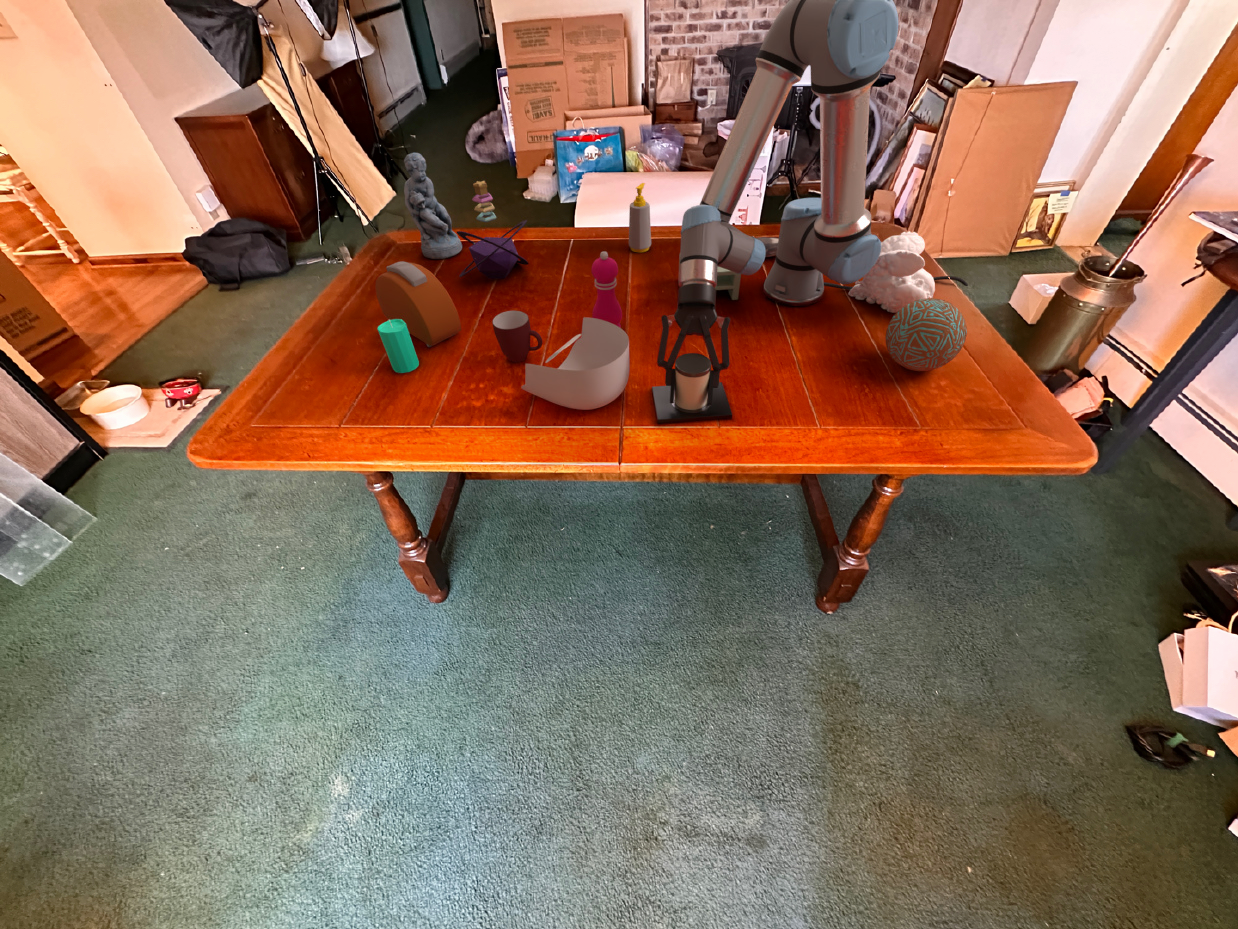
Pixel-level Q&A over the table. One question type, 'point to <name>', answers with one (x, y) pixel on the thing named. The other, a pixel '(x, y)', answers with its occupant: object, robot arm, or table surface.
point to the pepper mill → (606, 290)
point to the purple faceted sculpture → (491, 242)
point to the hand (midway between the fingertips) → (690, 403)
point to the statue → (428, 212)
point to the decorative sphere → (926, 334)
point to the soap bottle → (639, 223)
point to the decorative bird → (769, 245)
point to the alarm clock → (417, 302)
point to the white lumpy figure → (897, 274)
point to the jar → (691, 381)
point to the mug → (515, 335)
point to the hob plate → (676, 414)
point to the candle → (398, 345)
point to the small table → (727, 281)
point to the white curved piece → (585, 369)
